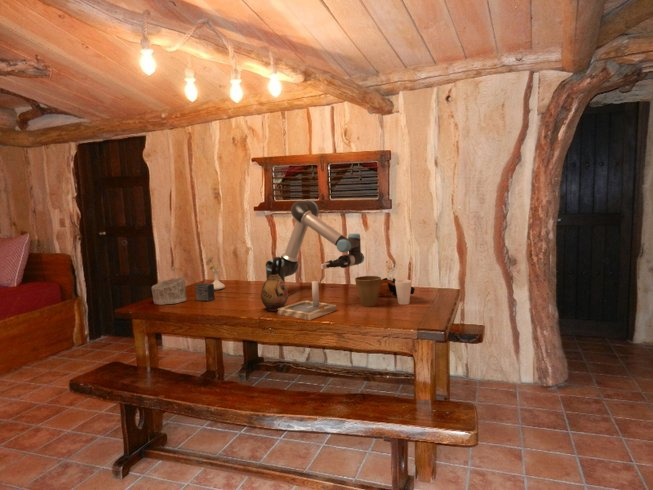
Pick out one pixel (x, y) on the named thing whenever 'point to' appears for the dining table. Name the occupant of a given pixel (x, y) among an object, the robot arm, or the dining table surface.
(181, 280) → the petrified wood
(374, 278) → the plant pot
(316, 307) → the beige peg stand
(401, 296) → the foam cup
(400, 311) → the dining table surface
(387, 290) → the tool
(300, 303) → the wooden square tray
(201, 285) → the small box
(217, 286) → the flower in vase
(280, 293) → the ceramic jug
